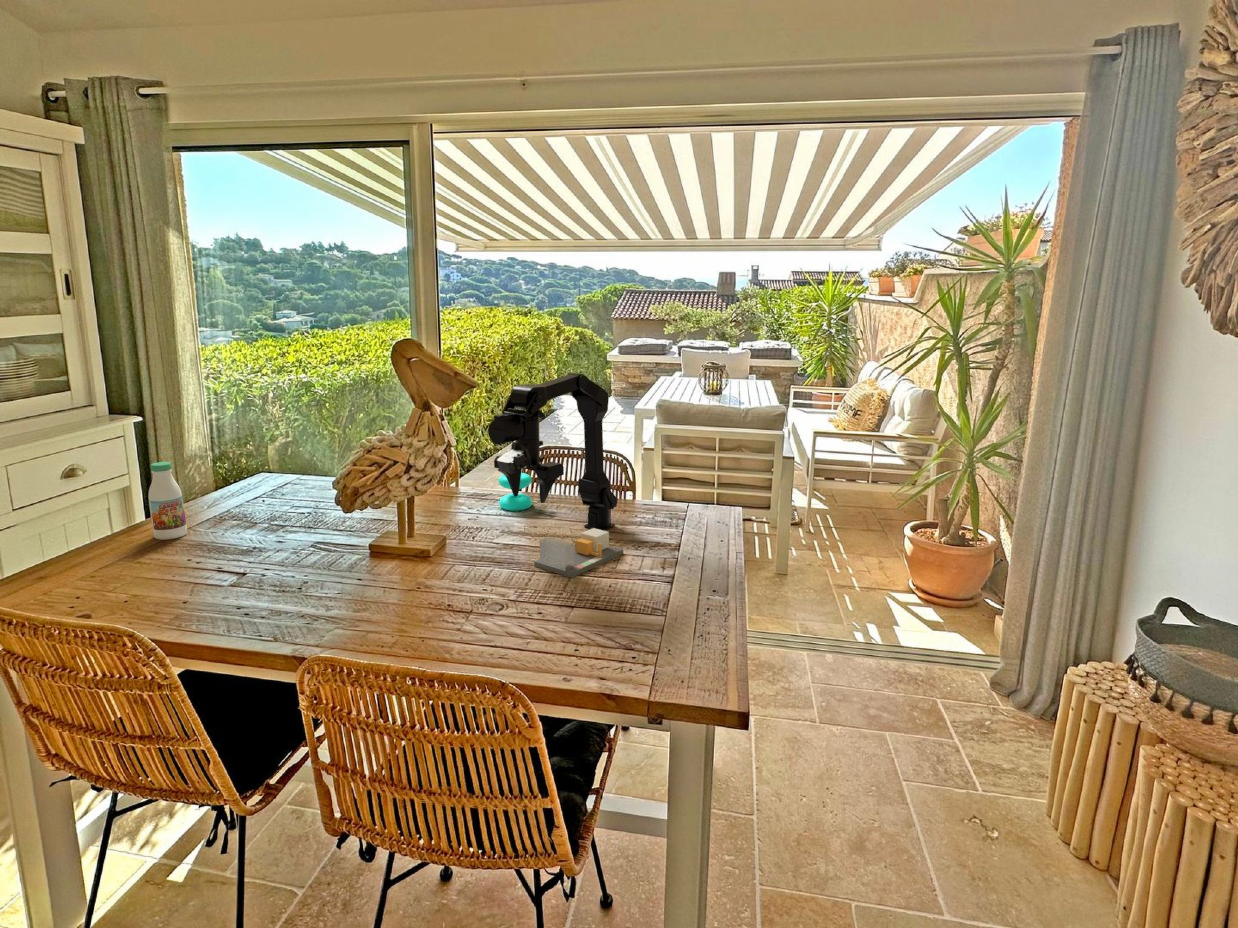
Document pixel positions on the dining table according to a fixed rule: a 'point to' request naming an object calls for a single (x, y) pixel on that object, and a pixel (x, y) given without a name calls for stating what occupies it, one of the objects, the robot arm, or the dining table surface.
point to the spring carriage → (596, 538)
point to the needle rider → (587, 547)
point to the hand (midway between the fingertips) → (529, 499)
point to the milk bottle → (166, 504)
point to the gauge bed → (583, 559)
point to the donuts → (519, 501)
